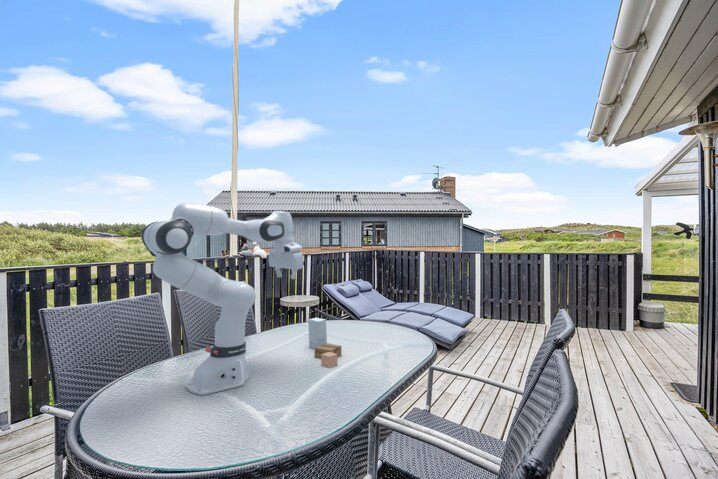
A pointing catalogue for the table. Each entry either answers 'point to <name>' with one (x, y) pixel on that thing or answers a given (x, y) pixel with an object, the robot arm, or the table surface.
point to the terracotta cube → (329, 359)
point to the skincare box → (317, 332)
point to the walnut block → (327, 350)
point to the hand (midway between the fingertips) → (286, 277)
